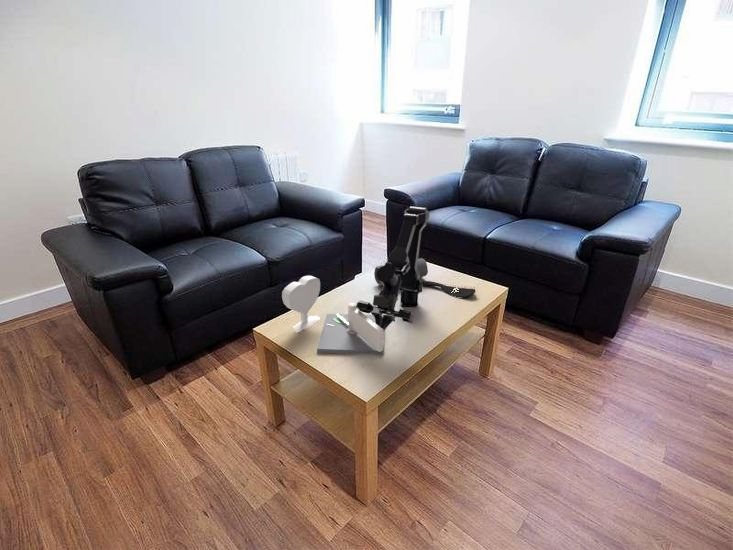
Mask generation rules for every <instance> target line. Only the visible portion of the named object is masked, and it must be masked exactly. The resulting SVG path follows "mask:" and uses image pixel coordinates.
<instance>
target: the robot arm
mask: <svg viewBox="0 0 733 550" xmlns="http://www.w3.org/2000/svg"><path fill="white" fill-rule="evenodd" d="M429 219H430V211H429V210H428V208H427V207H421V206H411V205H410V206H409V208H406V209H405V210H404V212H403V219H402V226H401V229H400V233H399V235H398V238H397V242H396V245H395V248H394V249H393V250H392V251H390V253H389V255H388V258H387V259H386V260H385V261H384V263H383V264H382V265H383V266H382V267H380V268H379V269H378V271H377V274H376V275H377V278H378V280H379V281H380V282H381V283H382V285H381V286H382V288H381V290H380V292H379V294H374V295H373V300H372V304H371V302H369V301H365V300H359V301H357V302H356V304H357V305H356V308H357V309H358V310H359V311H360V312H362V313H363V314H364V313H366V314H370V315H373V316H374V317H375V322H376V324H377V325H378V326H380V327H381V328H382V329H383V330H384V331H386V329H387V328H388V327H390V324H392V322H396V318H401V320H402V321H403V322H406V323H409V324H412V323H413V321H414V315H413V313H412V312H411V310H408V309H407V310H406V309H403V307H404V308H407V307H408V308H409V307H410V308H411V307H412V308H418V307H419V301H418V299H419V294H420V293H422V292H423V286H422V282H423V281H422V279H421V278H420V273H419V271H418V269H417V263H418V259H419V255H420V254H419V253H420V247H421V246H420V245H421V237H422V231H423V229H424V228H426V225H427V223H428V221H429ZM398 274H400V276H398ZM399 292H400V298H398V296H399ZM399 299H400V304H401V307H402V308H400V309H399V310H395V309H396V304H397V302H398V300H399ZM382 315H383V317H382Z"/></svg>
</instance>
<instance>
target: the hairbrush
mask: <svg viewBox="0 0 733 550" xmlns="http://www.w3.org/2000/svg"><path fill="white" fill-rule="evenodd" d="M421 282H422V285H423V286H424V287H425V286H426V287H428V286H429V287H432V286H433V287H437V288H441V290H442V291H443V290H444V291H445V292H446V294H447V293H448V294H450V295H449V296H451V295H453V296H456V297H455V298H457V297H462V298H461V299H463V298H468V297H471V296H472V295H474V294H475V293H476V289H475V288H476V287H474V286H472V288H469V286H466V285H465V287H461V286H460V285H457V286H456V285H454V286H453V285H451V284H449V285H446V284H443V283H440V282H435V281H431V280H428V281H427V280H426V281H425V280H424V281H421ZM423 286H422V287H423ZM456 287H457V288H458V289H459V290H457V289H456V290H457V291H459V292H455V290H454V292H455V293H454V292H452V291H453V289H454V288H456ZM444 291H443V292H444ZM445 292H444V293H445ZM451 292H452V293H451ZM448 294H447V295H448ZM453 296H452V297H453Z"/></svg>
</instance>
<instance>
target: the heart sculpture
mask: <svg viewBox="0 0 733 550" xmlns="http://www.w3.org/2000/svg"><path fill="white" fill-rule="evenodd" d="M320 291H321V281H320V278H317V277H315V276H313V275H304V276H302V277H301V278H300V279H299V280H298V281H292V282H290V283H289V284H288V285H286V286H285V287H284V289H283V290H282V292H281V299H282V303H283V304H284V305H285V307H286V308H288V309H290V310H291V311H292V310H293V311H294V312H298V313H300V320H301V322H300V321H299V322H297V323H298V324H297V323H296V325H295V324H294V325H295V326H294V325H292V326H293V328H294V329H295V330H296V331H301V330H303V329H304V330H306V329H308V328H309V327H311V326H312V325H314V324H315V323H317V322H319V321H320V320H321V317H320V316H318V315H315V316H310V315H309V316H308V314H309V312H310V310H311V309H312V307H313V306H314V304H315V303H316V301H317V300H318V298H319V294H320ZM318 320H319V321H318ZM313 323H314V324H313ZM308 326H309V327H308ZM305 328H306V329H305ZM304 330H303V331H304ZM301 332H302V331H301Z"/></svg>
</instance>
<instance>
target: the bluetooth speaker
mask: <svg viewBox="0 0 733 550" xmlns="http://www.w3.org/2000/svg"><path fill="white" fill-rule="evenodd" d="M382 266H383V264H382V265H379V266H376V267H375V268H374V274H373V275H374V279H375V282H376V283H377V285H379V286H383V285H382V283H381V282H380V281H379V280H378V278H377V275H376V274H377V271H378V269H379V268H380V267H382ZM417 269H418V271H419V273H420V279H421V278H424V277H426V276H427V275H428V273H429V271H428V270H429V269H428V264H427V261H426V260H425V259H424V258H418V263H417ZM398 276H400V274H398Z"/></svg>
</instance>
